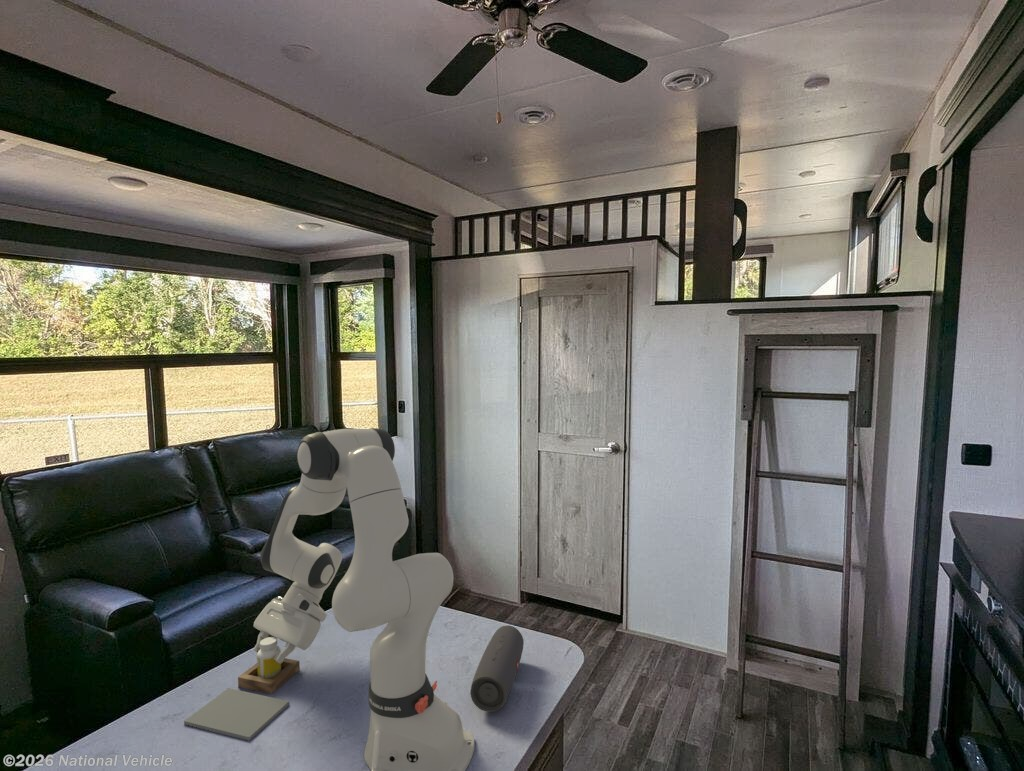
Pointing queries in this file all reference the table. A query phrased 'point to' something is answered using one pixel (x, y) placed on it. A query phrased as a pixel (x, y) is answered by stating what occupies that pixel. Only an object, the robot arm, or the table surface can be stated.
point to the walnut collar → (268, 685)
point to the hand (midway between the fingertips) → (266, 657)
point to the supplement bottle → (268, 658)
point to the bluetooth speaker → (497, 669)
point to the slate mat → (237, 713)
